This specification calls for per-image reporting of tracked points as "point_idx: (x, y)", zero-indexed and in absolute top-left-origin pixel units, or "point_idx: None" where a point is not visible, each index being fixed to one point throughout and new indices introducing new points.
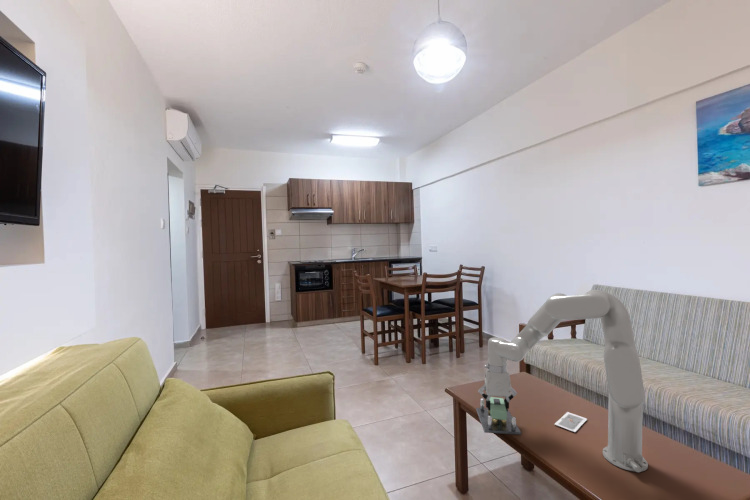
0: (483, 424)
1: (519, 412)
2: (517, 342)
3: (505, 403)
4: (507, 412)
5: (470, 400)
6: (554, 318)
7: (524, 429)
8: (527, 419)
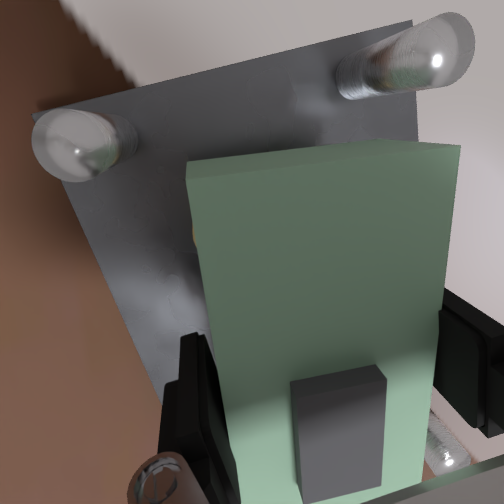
0: (408, 137)
1: (104, 474)
2: None
3: (216, 423)
4: None
5: None
6: None
7: (24, 235)
8: (26, 407)
